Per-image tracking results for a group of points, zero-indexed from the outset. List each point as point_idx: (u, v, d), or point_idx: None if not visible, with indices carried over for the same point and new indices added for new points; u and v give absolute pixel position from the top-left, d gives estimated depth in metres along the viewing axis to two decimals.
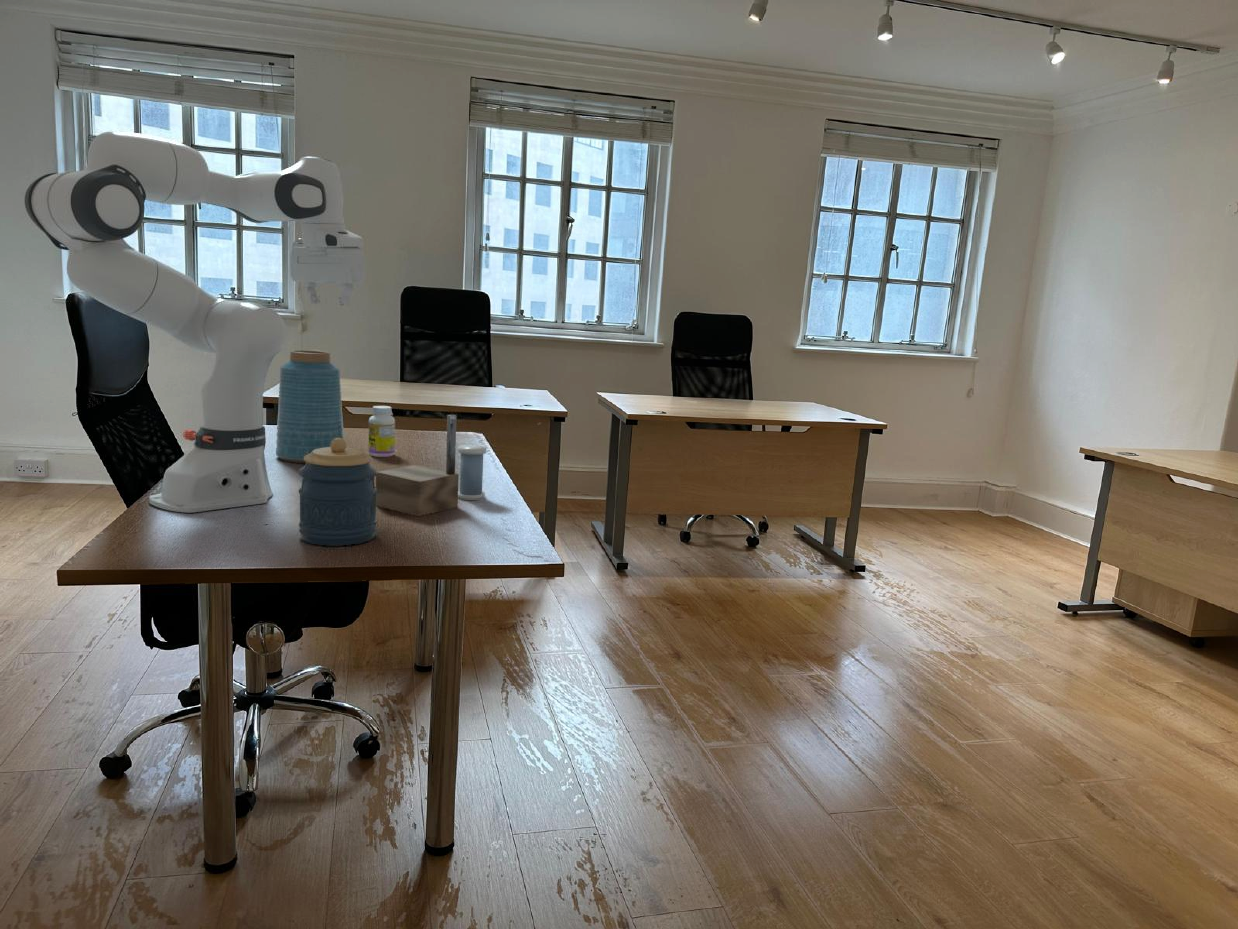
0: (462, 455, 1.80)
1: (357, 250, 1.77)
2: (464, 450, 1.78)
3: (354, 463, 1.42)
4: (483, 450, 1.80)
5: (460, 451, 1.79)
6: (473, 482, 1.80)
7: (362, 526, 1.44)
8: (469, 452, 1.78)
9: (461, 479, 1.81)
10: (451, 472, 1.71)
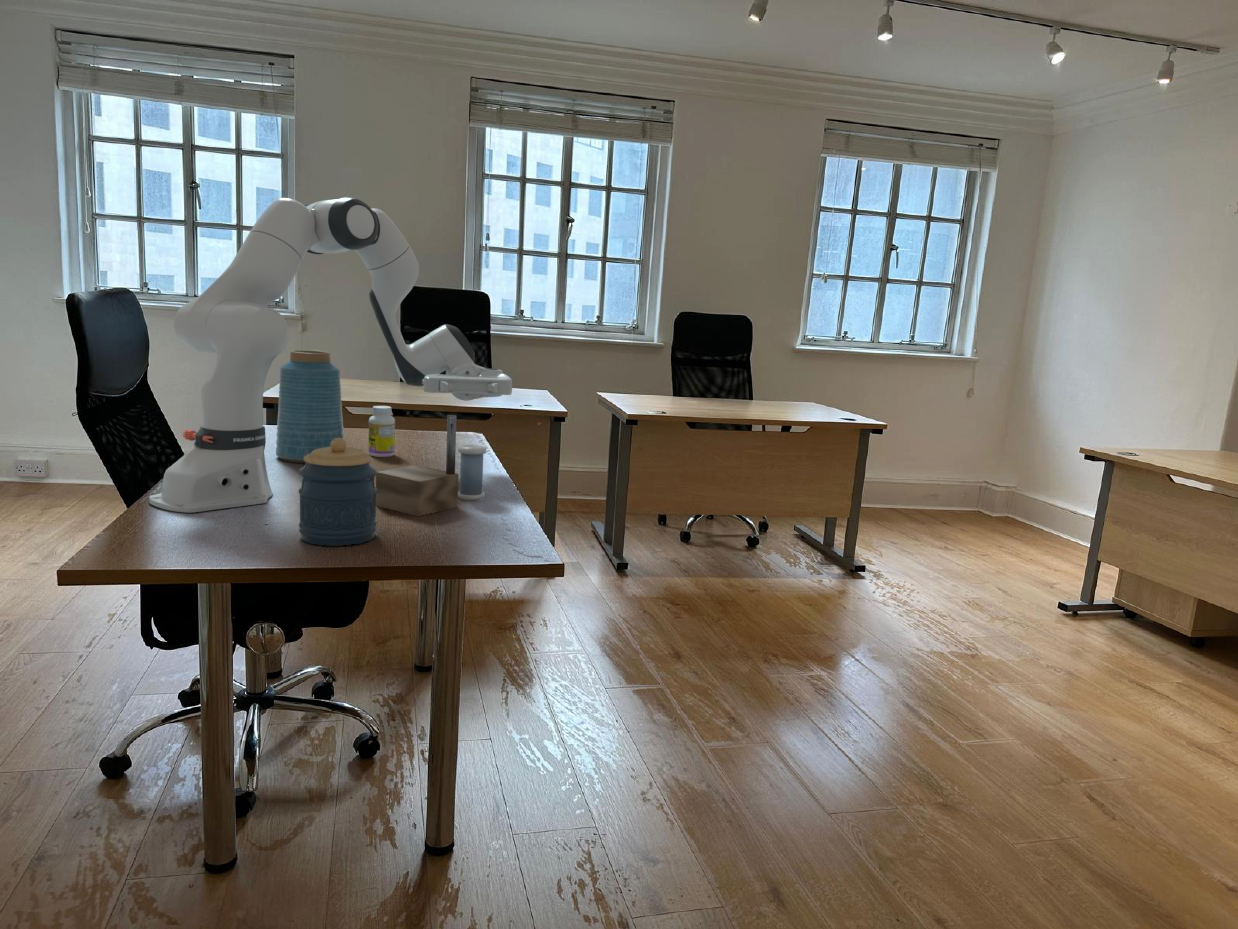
0: (462, 455, 1.80)
1: None
2: (464, 450, 1.78)
3: (354, 463, 1.42)
4: (483, 450, 1.80)
5: (460, 451, 1.79)
6: (473, 482, 1.80)
7: (362, 526, 1.44)
8: (469, 452, 1.78)
9: (461, 479, 1.81)
10: (451, 472, 1.71)
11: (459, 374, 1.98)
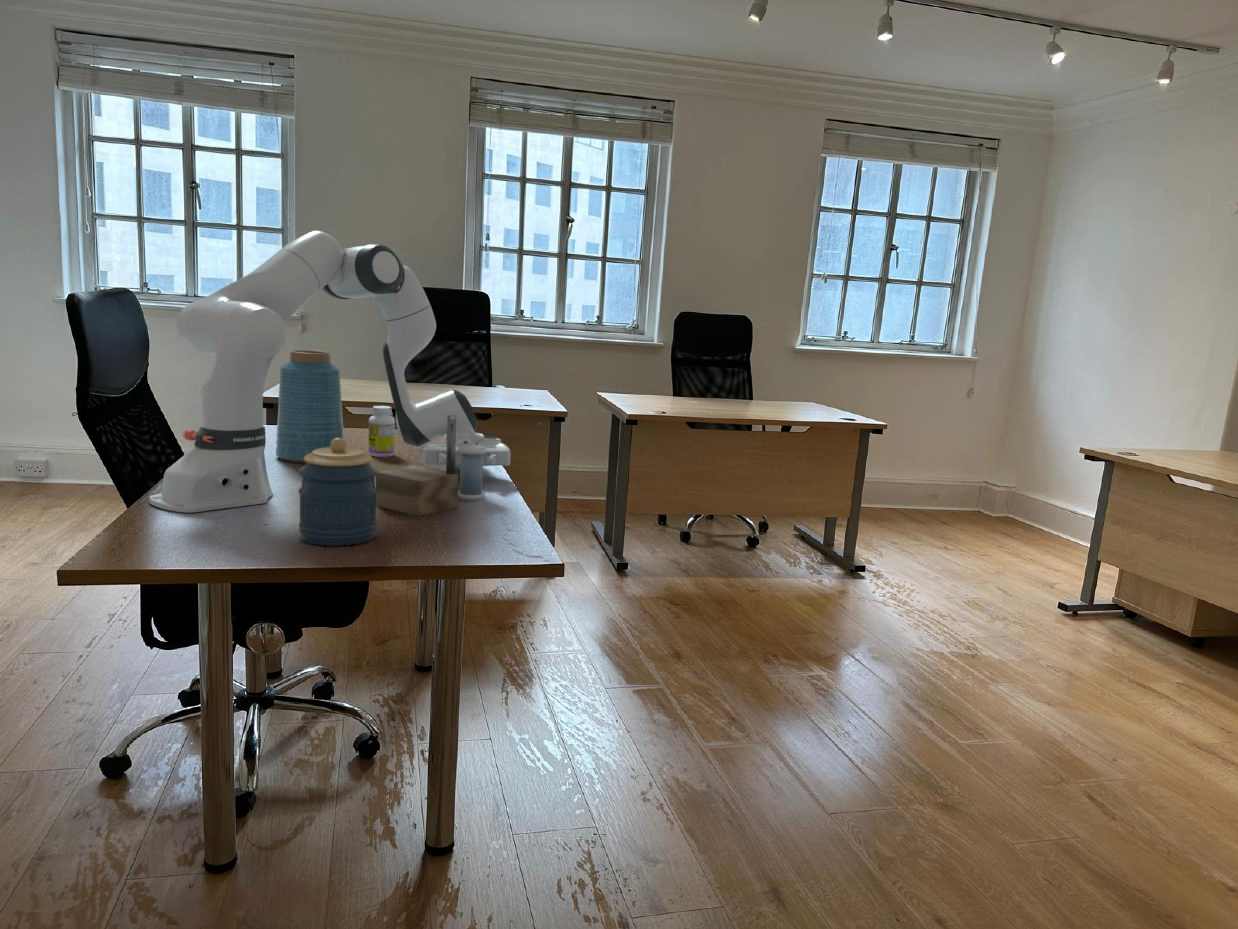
0: (462, 455, 1.80)
1: None
2: (464, 450, 1.78)
3: (354, 463, 1.42)
4: (483, 450, 1.80)
5: (460, 451, 1.79)
6: (473, 482, 1.80)
7: (362, 526, 1.44)
8: (469, 452, 1.78)
9: (461, 479, 1.81)
10: (451, 472, 1.71)
11: (457, 444, 1.98)
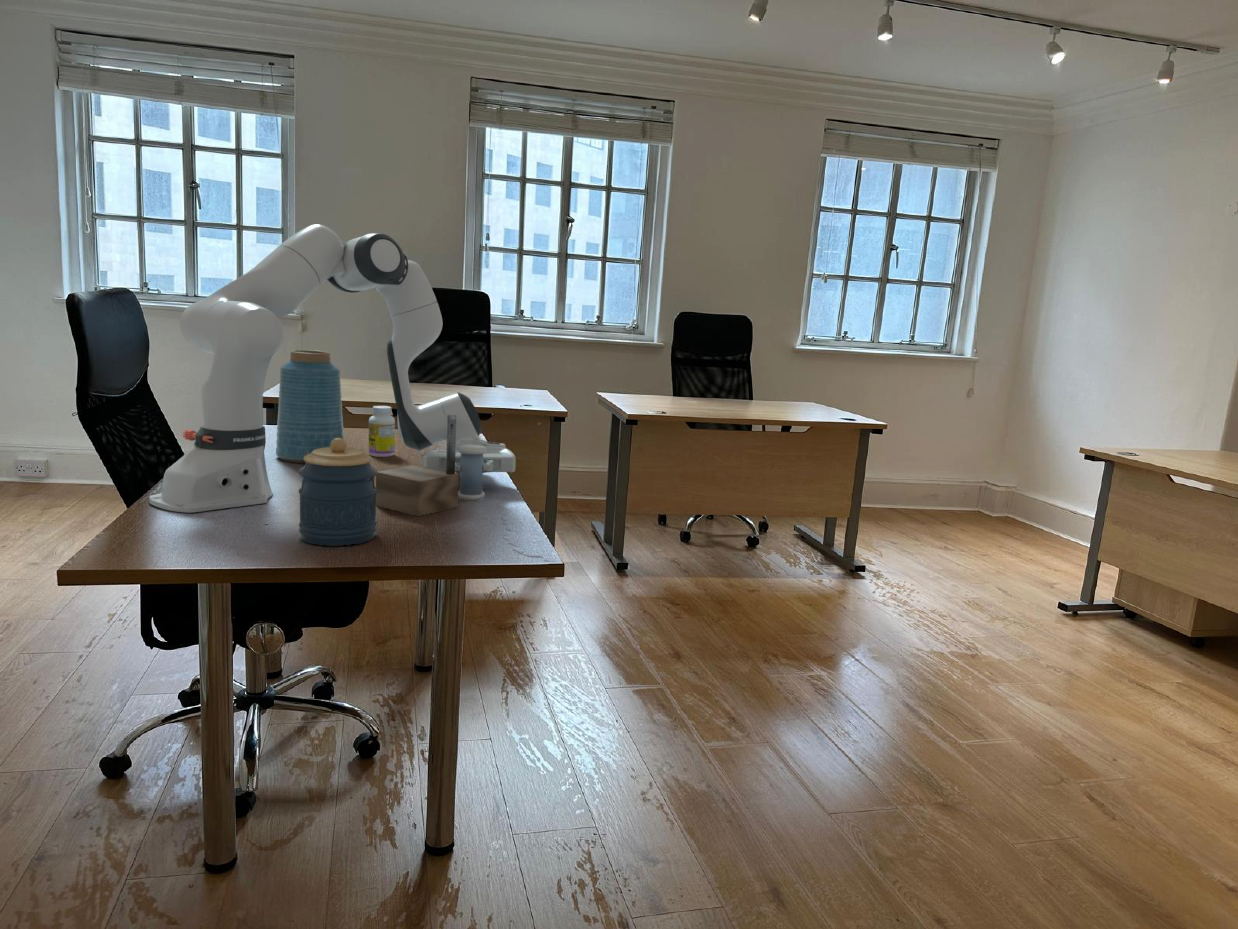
0: (462, 455, 1.80)
1: None
2: (464, 450, 1.78)
3: (354, 463, 1.42)
4: (483, 450, 1.80)
5: (460, 451, 1.79)
6: (473, 482, 1.80)
7: (362, 526, 1.44)
8: (469, 452, 1.78)
9: (461, 479, 1.81)
10: (451, 472, 1.71)
11: None
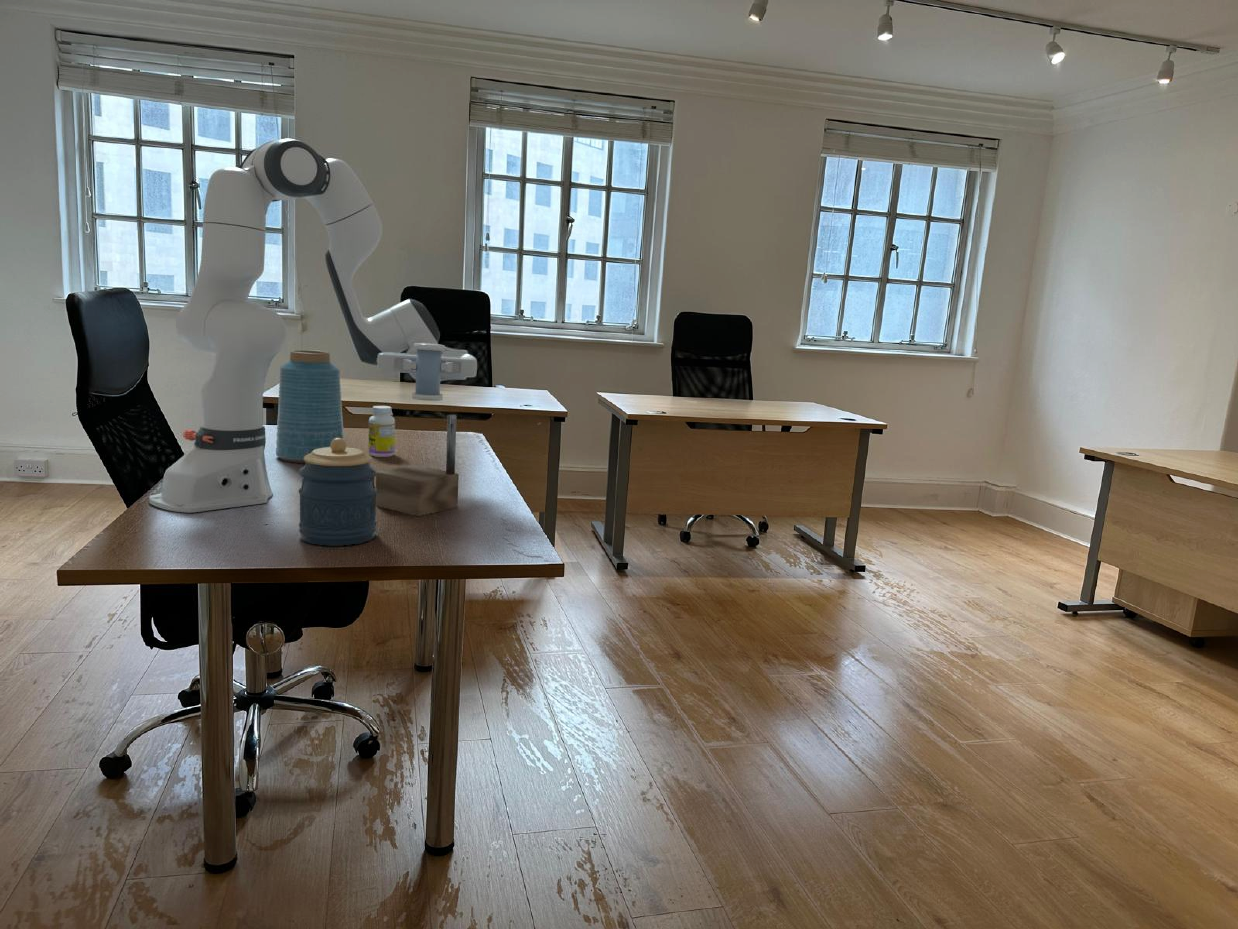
0: (418, 351, 1.68)
1: None
2: (420, 345, 1.67)
3: (354, 463, 1.42)
4: (441, 346, 1.68)
5: (416, 347, 1.67)
6: (429, 380, 1.68)
7: (362, 526, 1.44)
8: (425, 347, 1.66)
9: (417, 378, 1.69)
10: (451, 472, 1.71)
11: None
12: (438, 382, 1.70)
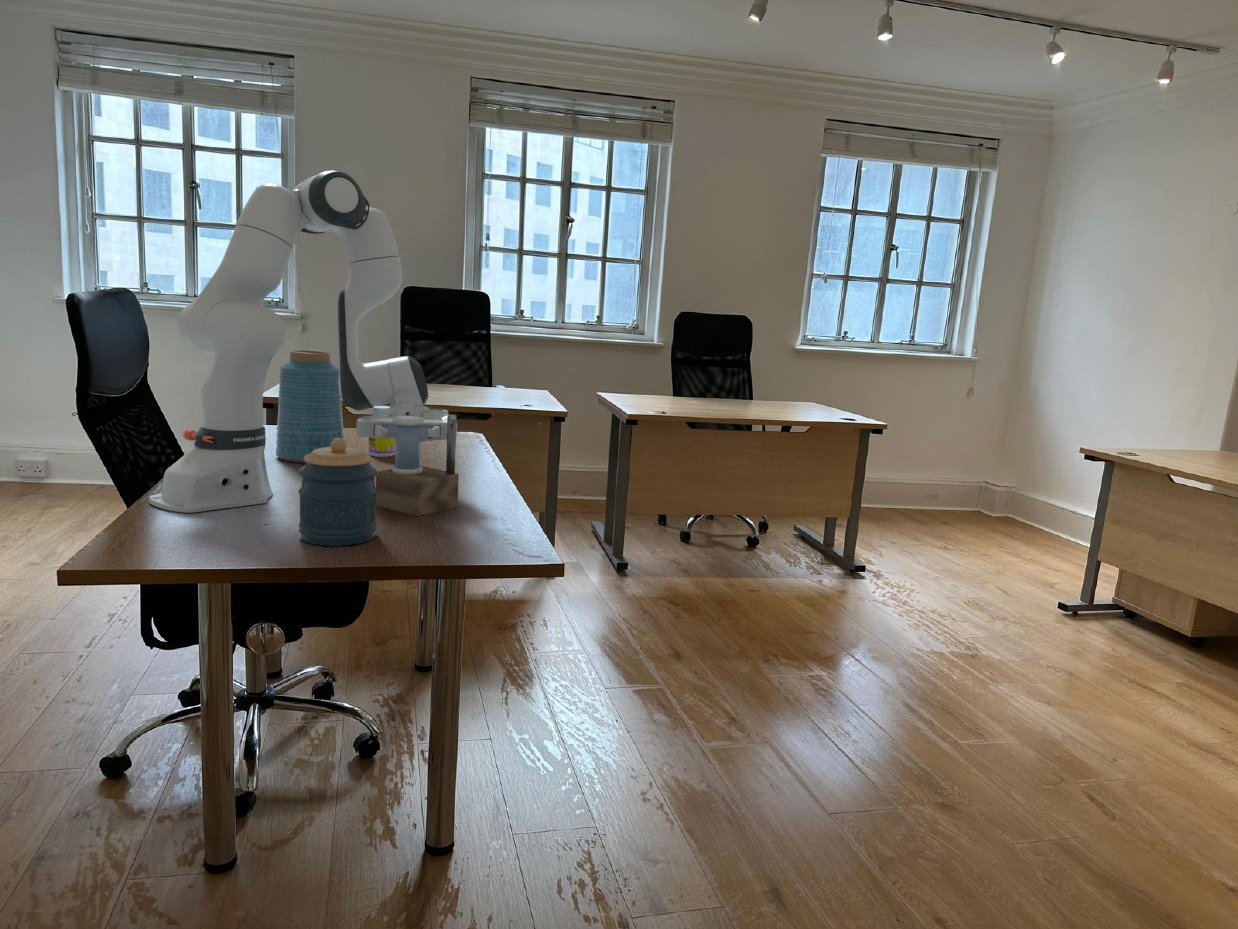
0: (397, 426, 1.68)
1: None
2: (398, 421, 1.66)
3: (354, 463, 1.42)
4: (419, 421, 1.68)
5: (394, 422, 1.67)
6: (408, 455, 1.68)
7: (362, 526, 1.44)
8: (404, 423, 1.66)
9: (396, 452, 1.69)
10: (451, 472, 1.71)
11: None
12: (417, 456, 1.70)
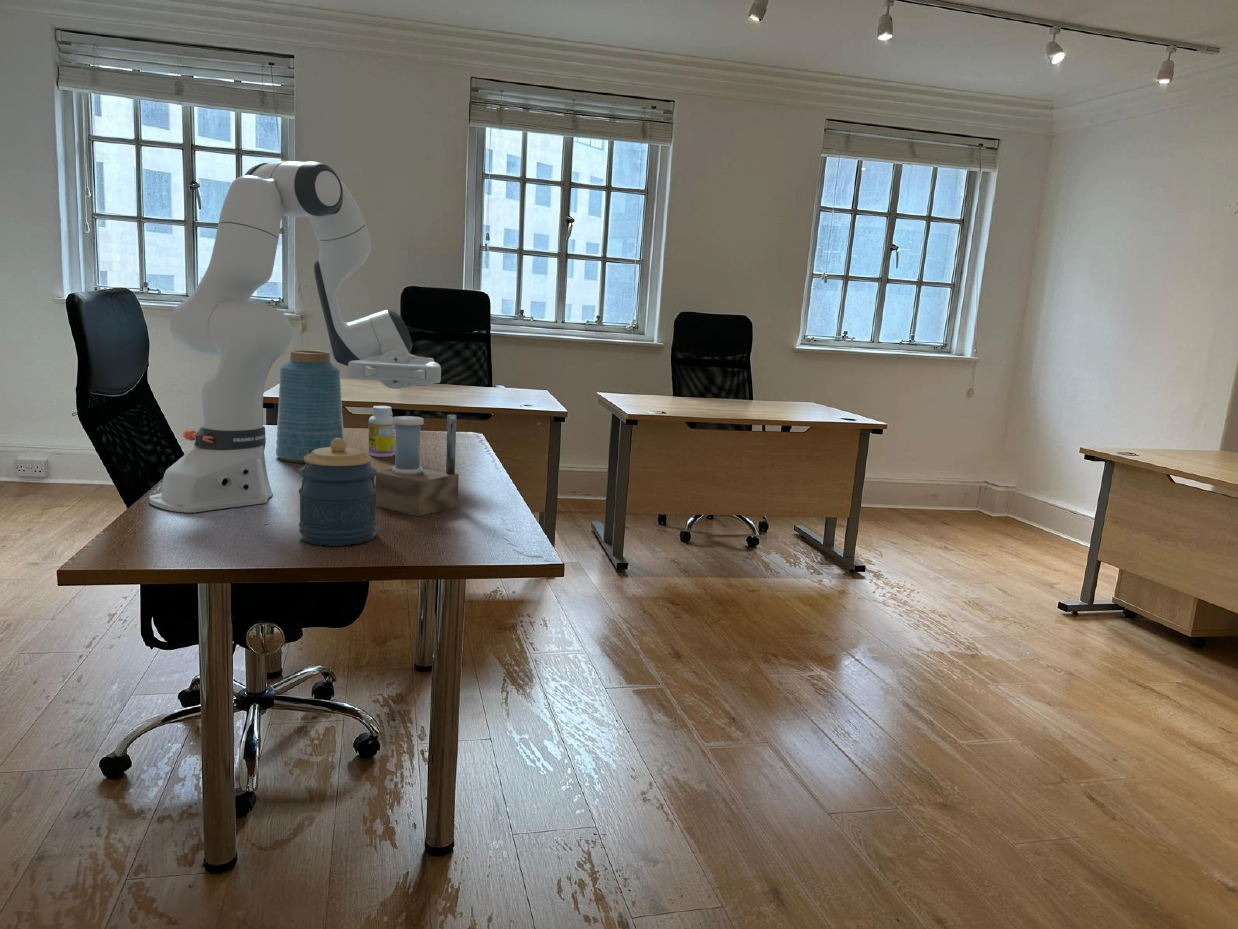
0: (397, 426, 1.68)
1: None
2: (398, 421, 1.66)
3: (354, 463, 1.42)
4: (419, 421, 1.68)
5: (394, 422, 1.67)
6: (408, 455, 1.68)
7: (362, 526, 1.44)
8: (404, 423, 1.66)
9: (396, 452, 1.69)
10: (451, 472, 1.71)
11: (387, 361, 1.93)
12: (417, 456, 1.70)
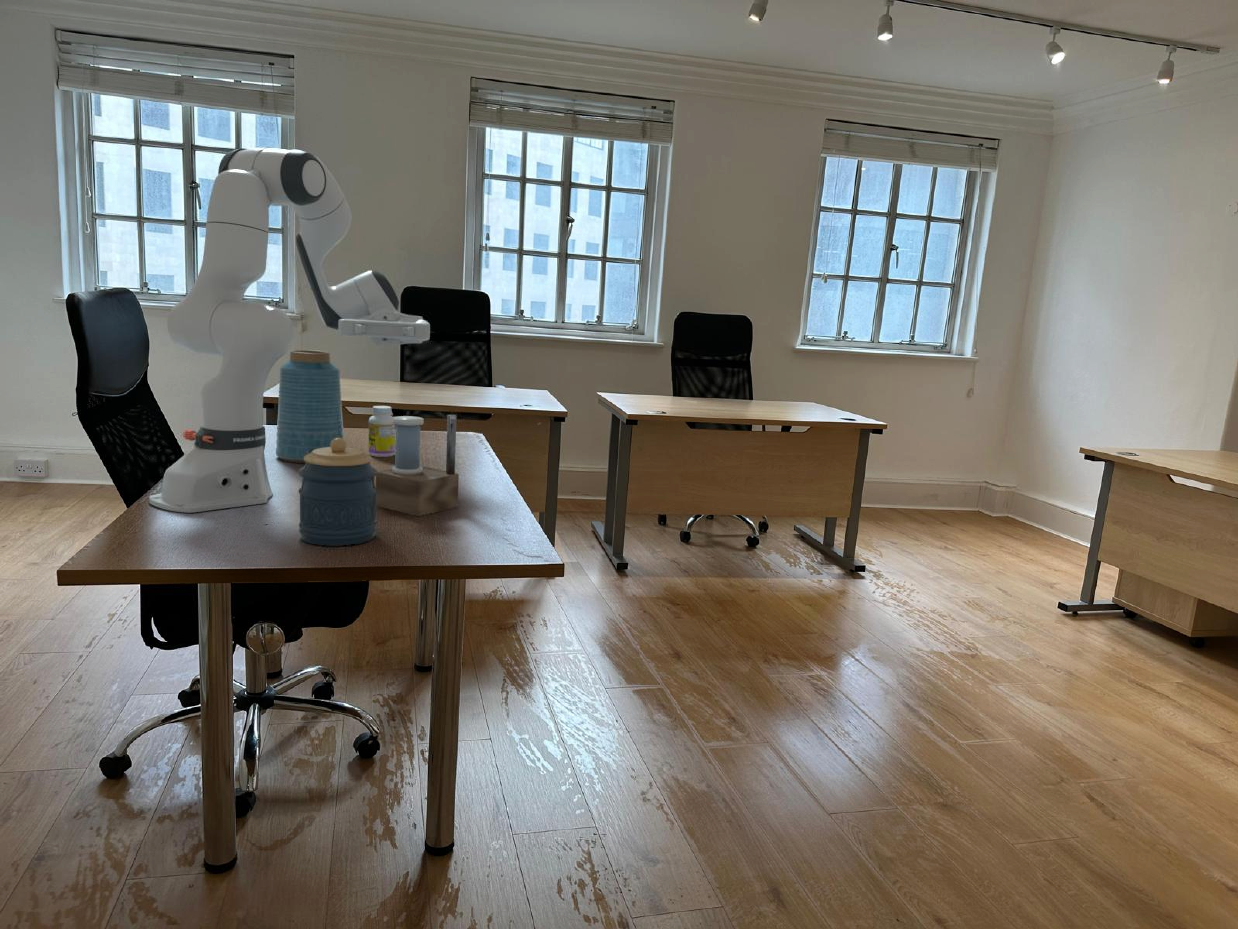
0: (397, 426, 1.68)
1: None
2: (398, 421, 1.66)
3: (354, 463, 1.42)
4: (419, 421, 1.68)
5: (394, 422, 1.67)
6: (408, 455, 1.68)
7: (362, 526, 1.44)
8: (404, 423, 1.66)
9: (396, 452, 1.69)
10: (451, 472, 1.71)
11: (377, 319, 1.96)
12: (417, 456, 1.70)
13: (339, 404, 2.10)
